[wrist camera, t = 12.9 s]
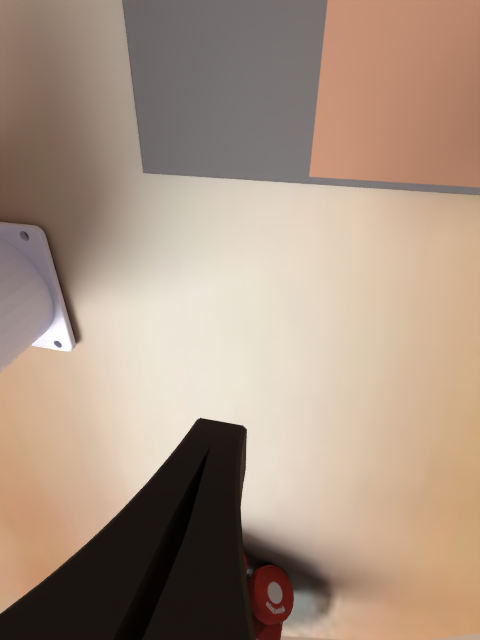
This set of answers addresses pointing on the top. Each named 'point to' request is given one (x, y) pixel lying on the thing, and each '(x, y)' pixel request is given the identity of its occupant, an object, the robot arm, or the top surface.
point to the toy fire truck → (269, 601)
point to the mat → (232, 89)
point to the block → (399, 92)
